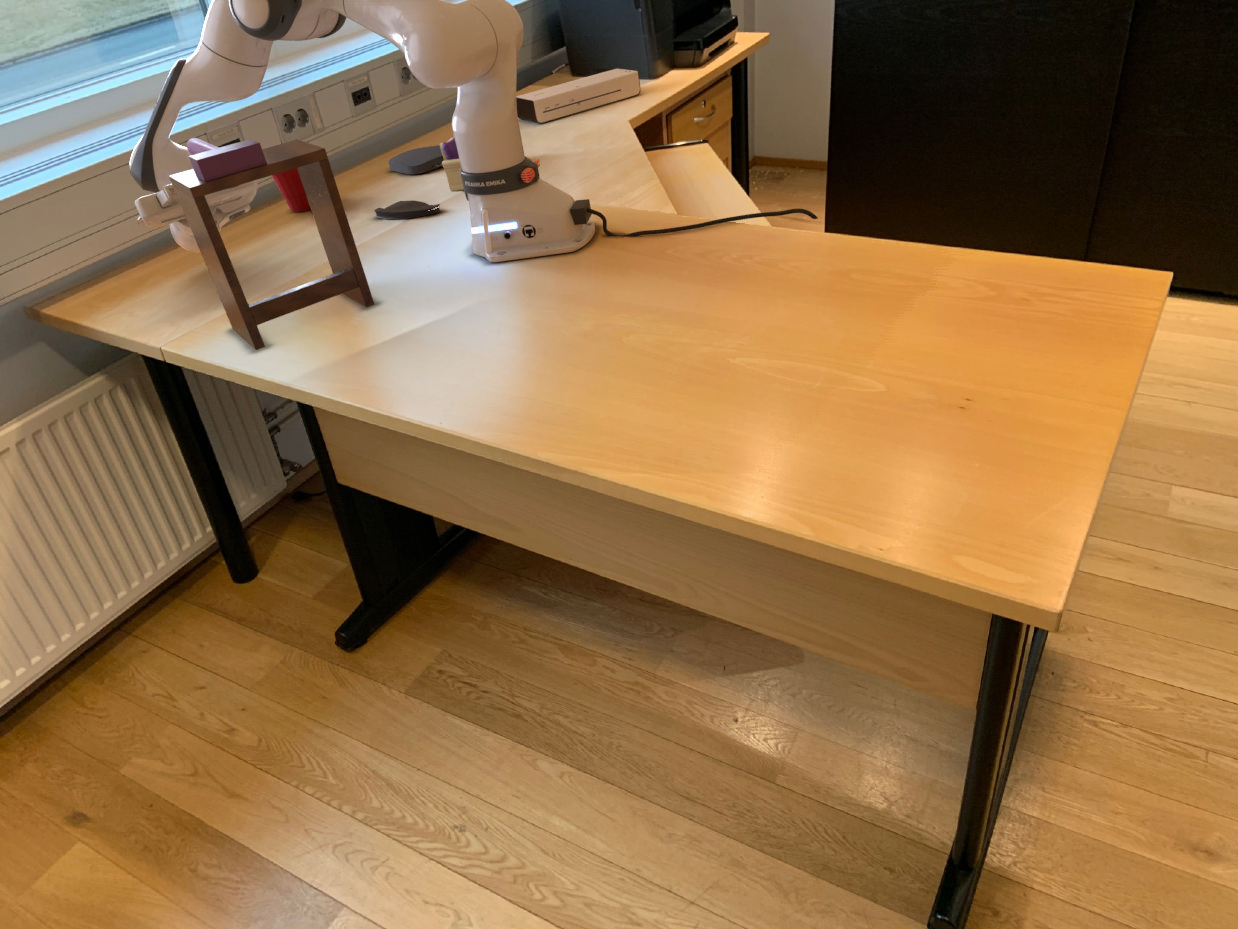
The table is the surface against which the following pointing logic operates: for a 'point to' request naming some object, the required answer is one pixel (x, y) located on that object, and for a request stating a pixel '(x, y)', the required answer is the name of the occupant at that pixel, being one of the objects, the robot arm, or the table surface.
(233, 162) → the toy hammer
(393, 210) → the black flat piece
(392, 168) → the media streaming box
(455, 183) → the toy sofa
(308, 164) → the bench
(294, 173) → the plastic cup
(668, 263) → the table surface
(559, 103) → the laminator
